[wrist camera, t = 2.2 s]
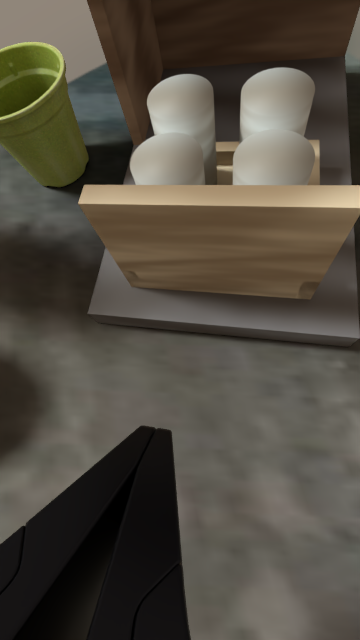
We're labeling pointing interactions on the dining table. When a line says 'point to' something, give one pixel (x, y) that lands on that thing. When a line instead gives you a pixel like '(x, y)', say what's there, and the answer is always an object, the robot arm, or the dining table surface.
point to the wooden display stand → (227, 81)
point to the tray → (226, 195)
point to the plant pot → (39, 114)
